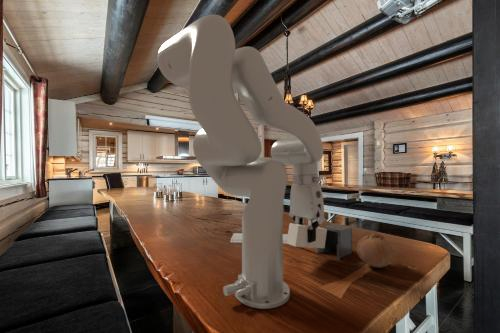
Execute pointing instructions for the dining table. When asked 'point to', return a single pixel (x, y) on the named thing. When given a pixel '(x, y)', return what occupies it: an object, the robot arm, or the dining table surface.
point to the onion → (375, 250)
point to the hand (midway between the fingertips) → (306, 239)
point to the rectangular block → (305, 236)
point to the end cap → (338, 240)
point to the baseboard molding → (238, 238)
